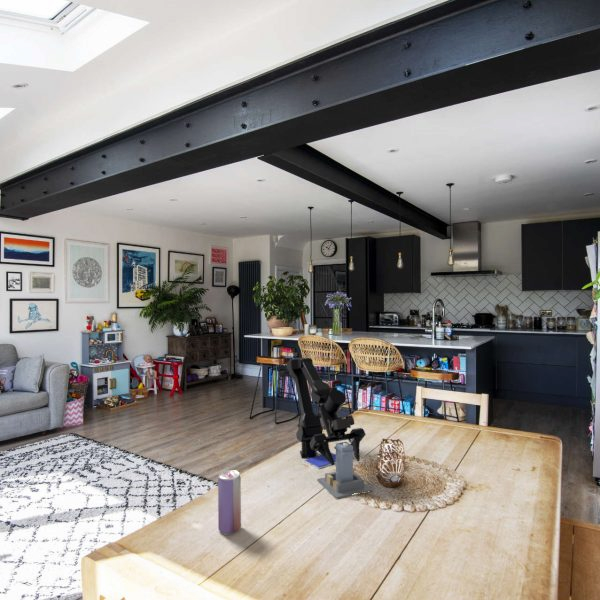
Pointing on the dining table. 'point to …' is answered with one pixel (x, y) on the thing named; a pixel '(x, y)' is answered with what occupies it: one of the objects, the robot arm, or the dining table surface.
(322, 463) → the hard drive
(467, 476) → the dining table surface
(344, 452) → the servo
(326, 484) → the chassis
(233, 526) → the beverage can
